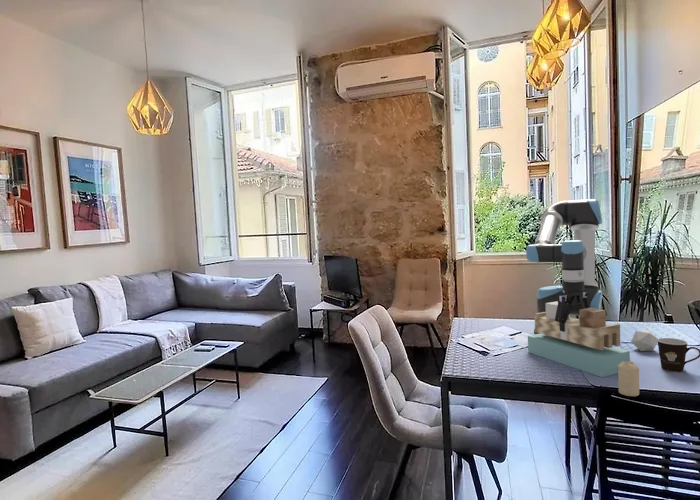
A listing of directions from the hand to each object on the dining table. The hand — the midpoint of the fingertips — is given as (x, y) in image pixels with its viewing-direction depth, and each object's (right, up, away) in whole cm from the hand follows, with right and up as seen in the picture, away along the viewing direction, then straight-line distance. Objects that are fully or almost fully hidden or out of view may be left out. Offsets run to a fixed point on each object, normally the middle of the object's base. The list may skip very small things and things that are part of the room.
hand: (574, 337), depth 169 cm
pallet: (0, 0, 0) cm, 0 cm away
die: (+33, -7, +8) cm, 35 cm away
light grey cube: (-3, +6, +7) cm, 10 cm away
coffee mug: (+28, -9, -15) cm, 33 cm away
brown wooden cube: (+3, +6, -8) cm, 10 cm away
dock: (+1, -9, +1) cm, 9 cm away
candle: (+1, -11, -32) cm, 34 cm away
